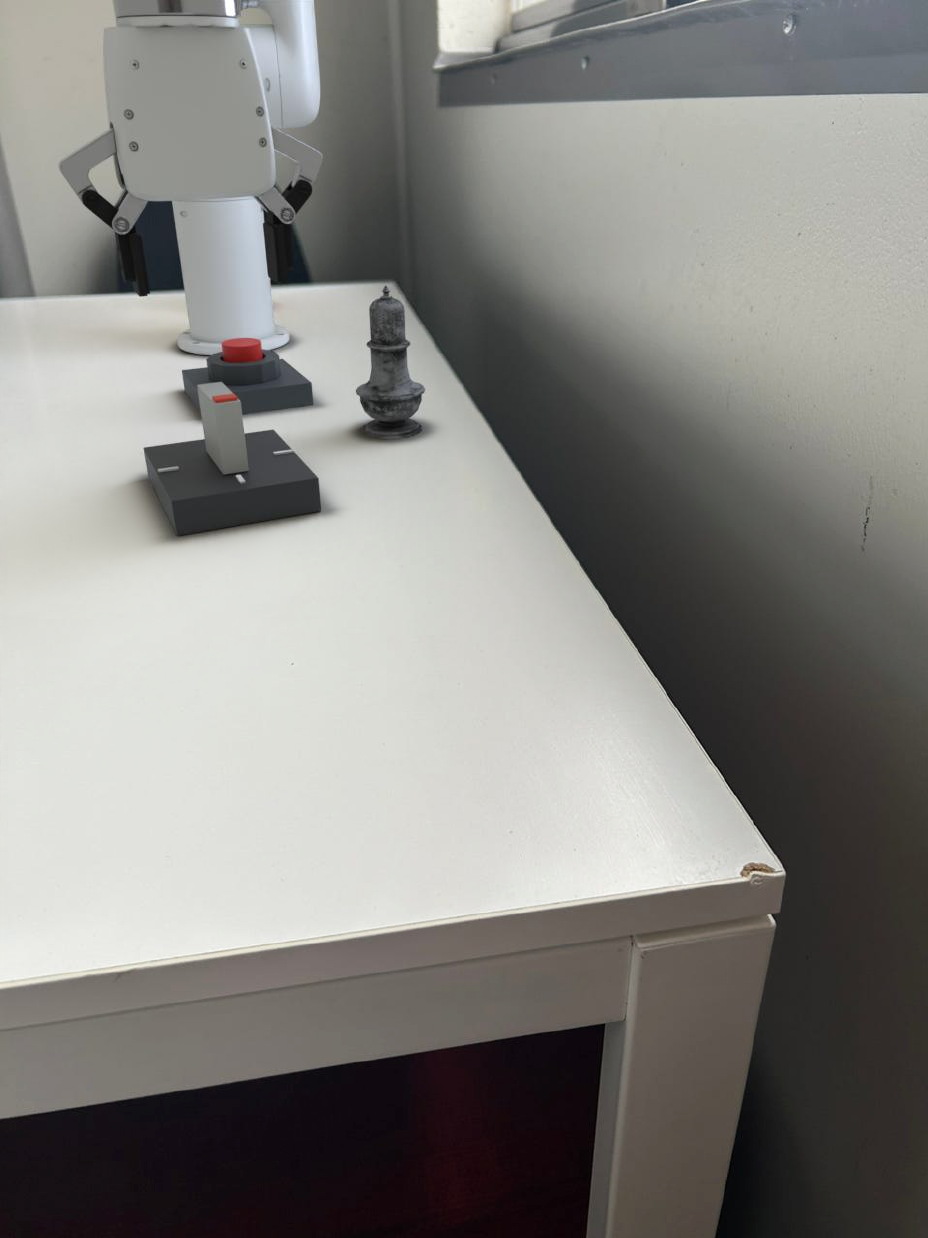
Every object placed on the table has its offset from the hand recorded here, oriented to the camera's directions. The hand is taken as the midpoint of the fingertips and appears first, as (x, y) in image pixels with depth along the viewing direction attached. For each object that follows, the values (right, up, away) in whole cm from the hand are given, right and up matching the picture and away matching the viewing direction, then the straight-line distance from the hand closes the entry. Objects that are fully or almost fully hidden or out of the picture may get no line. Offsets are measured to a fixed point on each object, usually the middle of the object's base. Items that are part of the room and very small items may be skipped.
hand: (211, 286), depth 70 cm
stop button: (-3, +1, +22) cm, 23 cm away
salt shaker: (+12, -7, +15) cm, 21 cm away
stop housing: (-3, -3, +24) cm, 25 cm away
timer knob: (+1, -12, +1) cm, 12 cm away
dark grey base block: (+1, -14, +2) cm, 15 cm away
